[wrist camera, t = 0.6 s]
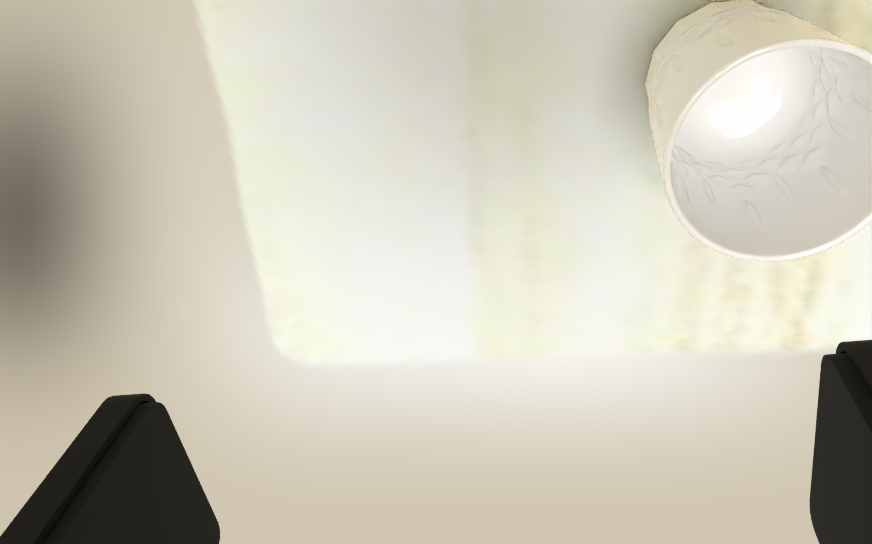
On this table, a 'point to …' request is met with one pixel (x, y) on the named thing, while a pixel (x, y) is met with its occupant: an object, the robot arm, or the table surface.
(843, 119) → the white cup
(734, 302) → the table surface
